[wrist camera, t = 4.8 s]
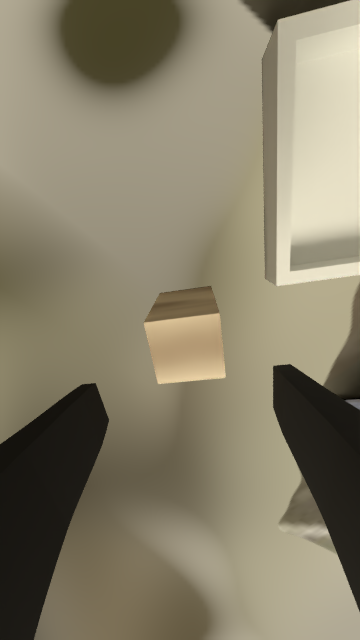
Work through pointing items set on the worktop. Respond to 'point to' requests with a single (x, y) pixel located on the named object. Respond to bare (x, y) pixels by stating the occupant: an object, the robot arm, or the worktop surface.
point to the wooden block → (185, 336)
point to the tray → (312, 146)
